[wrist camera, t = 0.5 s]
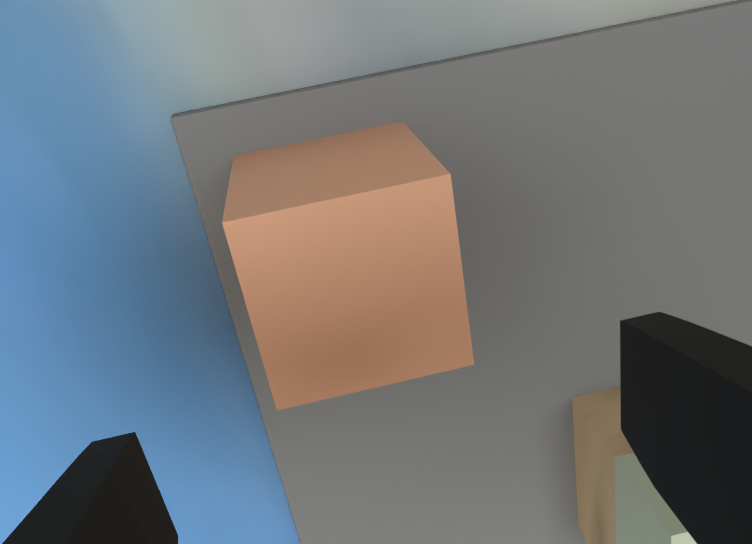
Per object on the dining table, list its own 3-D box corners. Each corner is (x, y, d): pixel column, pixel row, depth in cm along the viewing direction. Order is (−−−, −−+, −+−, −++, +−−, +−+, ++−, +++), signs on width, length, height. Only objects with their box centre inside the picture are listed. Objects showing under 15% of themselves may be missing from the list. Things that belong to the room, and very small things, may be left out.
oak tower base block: (740, 357, 22) (805, 410, 20) (729, 488, 25) (785, 551, 22) (571, 397, 22) (614, 457, 19) (578, 526, 25) (616, 594, 22)
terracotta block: (402, 121, 17) (450, 173, 13) (425, 273, 19) (474, 364, 15) (233, 156, 17) (221, 222, 13) (273, 306, 19) (276, 410, 15)
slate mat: (793, -11, 18) (807, -11, 18) (742, 501, 26) (750, 511, 26) (173, 114, 17) (170, 118, 16) (323, 608, 25) (324, 620, 25)
